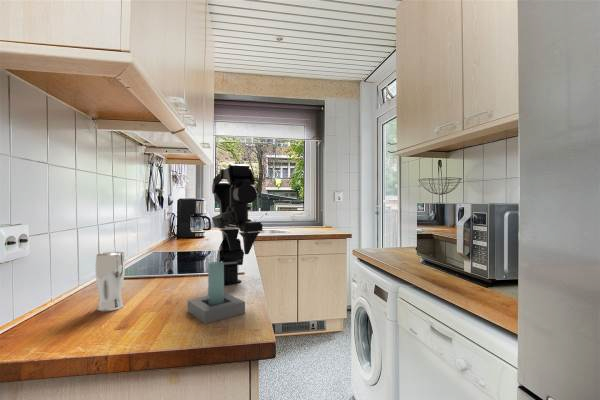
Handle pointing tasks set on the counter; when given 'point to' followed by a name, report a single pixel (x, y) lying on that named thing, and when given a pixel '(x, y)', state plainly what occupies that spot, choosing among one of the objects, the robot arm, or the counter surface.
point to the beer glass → (110, 280)
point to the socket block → (216, 308)
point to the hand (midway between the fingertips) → (239, 252)
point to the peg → (215, 283)
